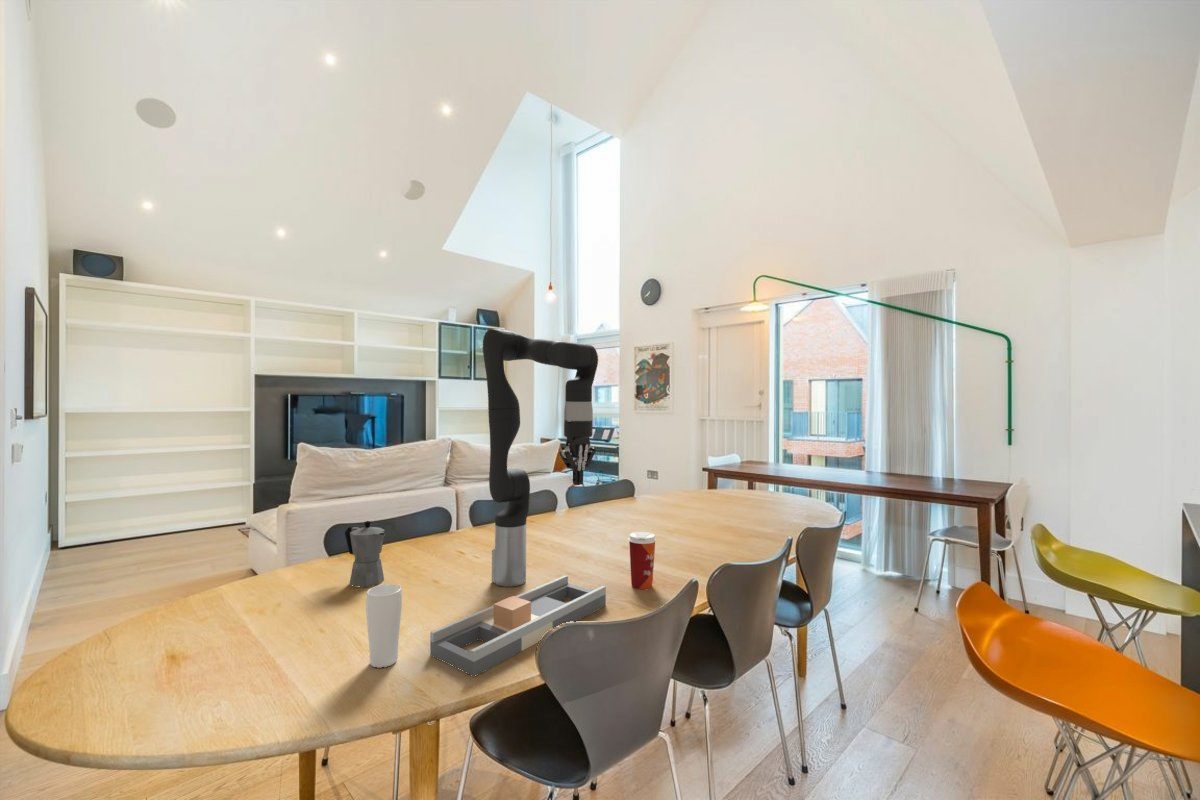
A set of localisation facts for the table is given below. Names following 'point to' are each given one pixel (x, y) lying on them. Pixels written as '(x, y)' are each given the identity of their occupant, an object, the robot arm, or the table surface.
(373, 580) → the coffeepot
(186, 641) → the table surface
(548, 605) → the track
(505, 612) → the block
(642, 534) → the coffee cup
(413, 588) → the table surface
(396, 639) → the drinking glass
